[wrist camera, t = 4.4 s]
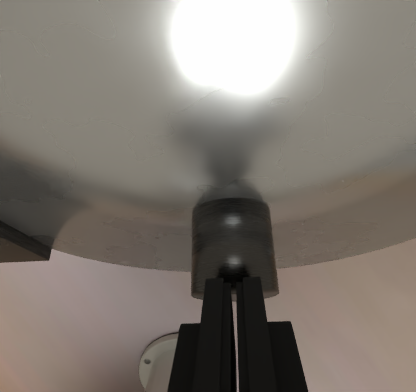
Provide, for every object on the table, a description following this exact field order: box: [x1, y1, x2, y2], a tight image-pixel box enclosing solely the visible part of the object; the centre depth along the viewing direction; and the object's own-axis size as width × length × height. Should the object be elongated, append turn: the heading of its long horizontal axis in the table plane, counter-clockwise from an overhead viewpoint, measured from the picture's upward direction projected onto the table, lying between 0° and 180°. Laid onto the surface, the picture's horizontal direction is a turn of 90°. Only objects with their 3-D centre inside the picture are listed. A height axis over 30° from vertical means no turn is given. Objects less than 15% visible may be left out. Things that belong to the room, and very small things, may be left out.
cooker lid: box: [0, 0, 416, 301], centre depth 12 cm, size 19×22×4 cm
